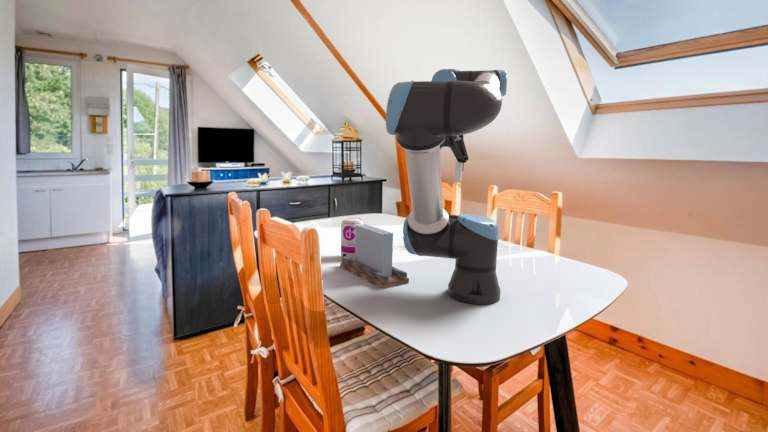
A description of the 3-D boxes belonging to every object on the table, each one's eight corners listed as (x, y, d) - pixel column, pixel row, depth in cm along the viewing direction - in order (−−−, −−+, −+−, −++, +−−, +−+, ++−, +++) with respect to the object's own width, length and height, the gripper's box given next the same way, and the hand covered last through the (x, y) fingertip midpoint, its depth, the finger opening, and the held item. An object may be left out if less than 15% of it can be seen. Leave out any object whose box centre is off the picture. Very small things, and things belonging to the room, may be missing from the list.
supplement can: (359, 262, 150) (360, 222, 147) (338, 260, 151) (338, 220, 148) (365, 256, 157) (365, 218, 155) (344, 254, 159) (344, 216, 156)
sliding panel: (391, 275, 131) (393, 233, 128) (381, 277, 128) (382, 234, 126) (364, 263, 143) (365, 224, 141) (355, 264, 141) (355, 225, 138)
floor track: (408, 283, 128) (409, 272, 128) (382, 288, 123) (383, 277, 122) (364, 262, 149) (364, 253, 149) (340, 266, 144) (340, 257, 143)
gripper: (465, 120, 147) (461, 179, 150) (411, 116, 132) (409, 181, 136) (481, 120, 141) (477, 181, 144) (426, 115, 126) (424, 184, 130)
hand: (444, 181), depth 140 cm, fingers open, 13 cm apart
